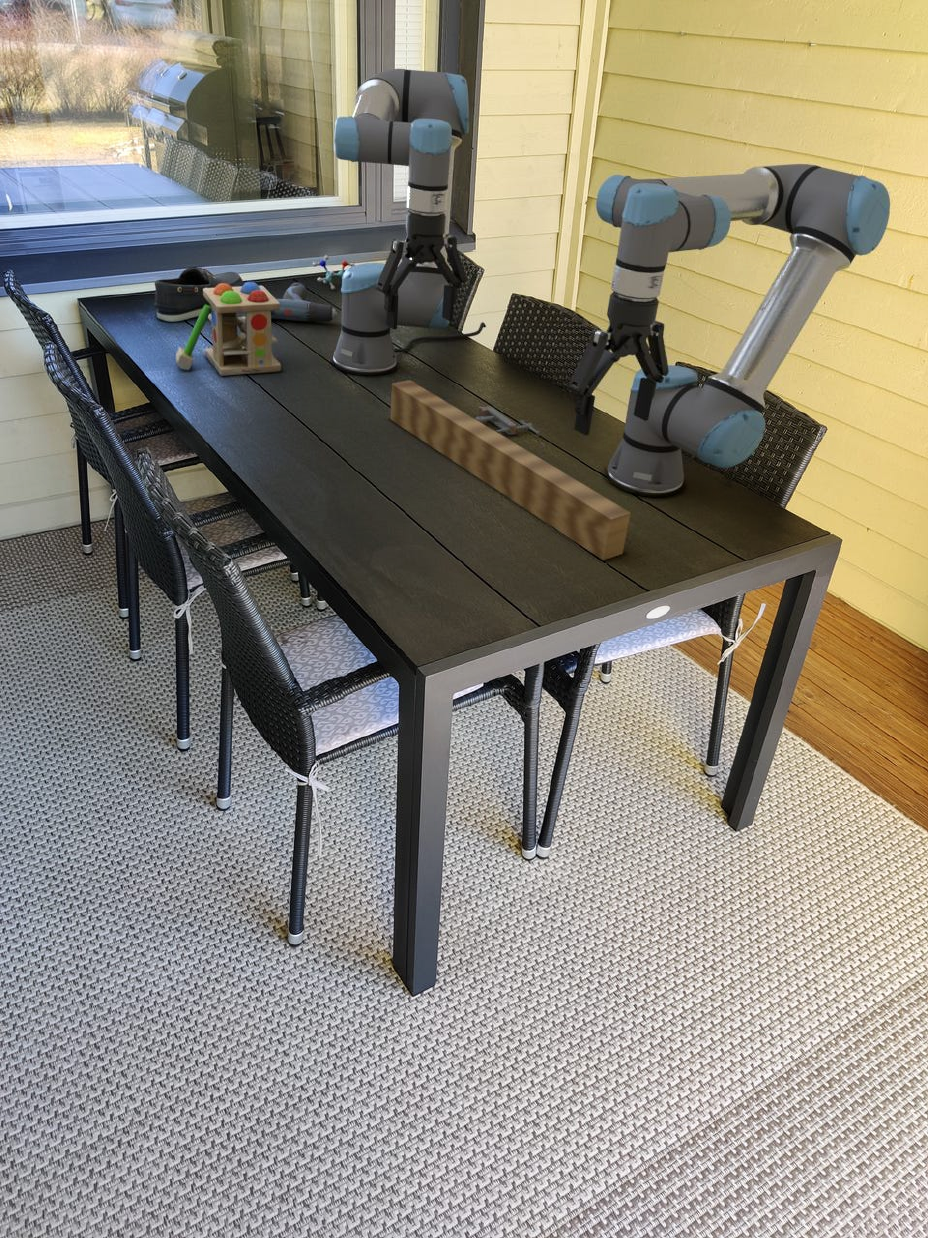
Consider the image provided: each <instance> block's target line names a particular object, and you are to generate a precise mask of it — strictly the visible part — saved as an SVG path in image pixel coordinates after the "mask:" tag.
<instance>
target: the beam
mask: <svg viewBox="0 0 928 1238" xmlns="http://www.w3.org/2000/svg"><path fill="white" fill-rule="evenodd" d="M390 397H391V398H390V421H392V422H393V423H395V424H396V425H398V426H399V427H401V429H404V430H405V431H407V432H408V433H410V434H411V435H413V436H415V437H416V438H417V439H419V440H420V441H421V442H424V443H425V444H427V445H428V446H430V447H431V448H432V449H434V450H436V451H437V452H439V453H440V454H442V455H443V456H445V457H446V458H447V459H449V460H451V461H452V462H454V463H455V464H457V465H458V466H459V467H461V468H463V469H464V470H466V471H467V472H469V473H470V474H472V475H473V476H475V477H477V478H478V479H479V480H481V481H482V482H484V483H486V484H487V485H488V486H490V487H491V488H493V489H494V490H496V491H498V493H501V494H502V495H504V496H505V497H507V498H508V499H510V500H511V501H512V502H514V503H516V504H517V505H518V506H520V507H521V508H523V509H525V510H526V511H528V512H529V513H531V514H532V515H533V516H535V517H537V518H538V519H540V520H541V521H543V522H544V523H546V524H547V525H548V526H551V527H552V528H554V529H555V530H556V531H558V532H559V533H561V534H562V535H563V536H566V537H567V538H569V539H570V540H571V541H573V542H574V543H577V545H579V546H581V547H582V548H584V549H585V550H587V551H588V552H589V553H591V554H593V555H594V556H596V557H597V558H599V559H600V560H602V561H606V560H608V559H612V558H614V557H617V556H621V555H623V553H624V549H625V543H626V538H627V535H628V529H629V525H630V520H631V515H632V514H631V512H630V511H628V510H627V509H625V508H624V507H622V506H621V505H619V504H617V503H615V502H614V501H611V499H609V498H607V497H605V496H603V495H602V494H600V493H598V492H597V491H596V490H594V489H592V488H590V487H588V486H587V485H585V484H584V483H582V482H580V481H578V480H577V479H575V478H574V477H572V476H570V475H568V474H567V473H566V472H563V470H560V469H558V468H557V467H555V465H554V466H553V465H552V464H550V463H548V462H547V461H545V460H543V459H542V458H540V457H539V456H537V455H535V454H534V453H532V452H531V451H529V450H527V449H525V448H524V447H522V446H520V445H518V444H517V443H516V442H514V441H513V440H510V439H509V438H507V437H505V436H504V435H502V434H501V433H500V432H498V433H497V432H496V430H494V429H492V428H490V427H488V426H487V425H485V424H484V423H480V422H479V421H477V420H475V417H472V416H470V415H468V414H467V413H466V412H464V411H462V410H461V409H459V408H458V407H456V406H454V405H452V404H450V403H449V402H447V401H446V400H444V399H442V398H440V397H439V396H437V395H436V394H434V393H432V392H431V391H429V390H427V389H425V388H424V387H422V386H420V385H419V384H417V383H416V382H414V381H412V380H404V381H403V380H402V381H398V382H393V383H391V395H390Z"/></svg>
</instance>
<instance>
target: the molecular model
mask: <svg viewBox="0 0 928 1238" xmlns="http://www.w3.org/2000/svg"><path fill="white" fill-rule="evenodd" d="M329 258H330V257H329V255H324V259H323V260H320V262H316V261H313V262H312V266H313V267H317V266H320V267H322V268H323V269H324V271H325V272H326V273H325V277H322V278H321V277H317V282H318V283H321V282H322V283H323V284H324V285H326V284H327V283H329V286H330V289H331V290H332V291H334V290H335V289H336V286H335V285H333V282H332V280H333V279H332V277H339V278H341V279H343V274H344V272H345V268H346V267H348V266H349V267H352V266H355V263H354V262H351V263H349V262H348V261H346V260H344V261H342V263H341V265H342V267H341V270H340V271H338V273H335V270H333V269H331V270H330V271H329V270H328V268H327V261H328V260H329Z"/></svg>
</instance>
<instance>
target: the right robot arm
mask: <svg viewBox="0 0 928 1238" xmlns="http://www.w3.org/2000/svg"><path fill="white" fill-rule="evenodd" d="M595 207H596V208H595V210H596V211H597V215H598V217H599V219H601V221H603V222H604V223H606V224H609V225H612V226H613V227H614V228H619V229H620V232H619V238H618V239H619V240H618V246H617V252H616V258H615V263H614V268H613V273H612V274H613V275H612V281H611V287H610V289H611V291H612V292H611V293H610V294H609V300H608V305H607V312H606V315H607V318H608V322H609V324H608V327H607V329H606V330H600V329H598V328H594V329H593V330H592V332H591V334H590V339H589V342H588V345H587V346H586V349H585V351H584V353H583V355H582V356H581V359H580V361H579V363H578V365H577V367H576V369H575V371H574V373H573V375H572V377H571V379H570V381H569V384H568V385H567V388H568V390H570V391H572V392H574V393H576V395H577V396H576V400H575V401H576V402H575V408H574V410H575V413H576V415H575V421H574V429H573V430H575V431H576V432H578V433H580V434H582V435H583V436H585V437H586V436H589V435H590V430H591V425H592V418H593V413H594V407H595V401H596V395H594V394H593V393H594V392H595V390H596V389H597V388H598V386H599V384H600V383H601V382H602V380H603V379H604V378H605V376H606V375H607V374H608V372H609V371H610V369H611V368H612V367H613V365H614V364H615V363H617V362H619V361H620V360H621V358H625V357H628V356H635V358H636V361H637V362H638V364H639V366H640V368H639V370H637V371H636V372H635V375H634V377H633V382H632V385H631V388H630V394H629V398H628V399H629V400H628V404H627V411H626V417H625V423H624V429H623V433H622V438H621V441H620V442H619V445H618V446H617V448H616V449H615V452H614V454H613V455H612V457H611V459H610V460H609V463H608V465H607V468H606V469H607V470H606V478H607V480H608V481H609V482H610V483H611V485H613V486H615V487H616V488H617V489H620V490H621V491H624V492H626V493H629V494H632V495H636V496H643V497H649V498H650V497H651V498H662V497H668V496H673V495H675V494H677V493H678V492H680V491H681V490H682V488H683V484H684V480H685V473H684V465H683V456H682V451H683V452H686V453H688V454H690V455H692V456H694V457H695V458H698V459H699V460H700V461H702V462H704V463H706V464H711V465H713V466H715V467H718V468H719V469H729V468H733V467H736V466H737V465H740V464H741V463H742V462H744V461H745V460H747V459H748V458H749V457H750V456H751V455H752V454H753V453H754V452H755V451H756V449H757V448H758V446H759V445H760V443H761V441H762V439H763V437H764V434H765V433H764V431H765V430H766V420H765V417H764V416H763V412H764V410H765V408H766V402H765V399H764V398H765V397H764V393H765V392H766V391H767V389H768V388H769V385H770V384H771V382H772V381H773V379H774V377H775V375H776V374H777V372H778V371H779V368H780V366H781V365H782V364H783V362H784V360H785V359H786V357H787V355H788V354H789V352H790V350H791V349H792V347H793V345H794V343H795V342H796V340H797V338H798V336H799V335H800V333H801V331H802V330H803V328H804V327H805V325H806V323H807V322H808V320H809V318H810V316H811V315H812V314H813V311H814V310H815V308H816V306H817V305H818V303H819V301H820V300H821V297H822V296H823V294H824V293H825V291H826V290H827V287H828V286H829V284H830V283H831V281H832V279H833V278H834V277H835V274H836V273H838V272H841V271H843V270H846V269H849V268H850V267H851V264H852V263H853V261H854V259H855V258H856V256H860V257H861V256H866V255H869V254H871V253H872V252H874V250H876V249H877V247H878V246H879V244H880V243H881V241H882V240H883V237H884V235H885V233H886V230H887V227H888V224H889V220H890V215H891V214H890V213H891V211H890V210H891V198H890V194H889V190H888V189H887V187H886V186H885V185H884V183H883V182H880V181H878V180H874V179H872V178H868V177H867V176H866V175H857V174H853V173H848V172H843V171H841V170H836V169H832V168H828V167H822V166H821V165H820V166H819V165H816V164H809V163H793V164H792V163H791V164H776V165H766V166H764V165H763V166H754V167H751V168H749V169H747V170H745V171H744V172H743V173H736V174H735V173H734V174H716V175H715V174H714V175H698V176H697V175H696V176H678V177H661V178H660V177H659V178H643V179H642V178H633V177H632V176H631V175H622V174H614V175H611V176H609V177H608V178H607V179H605V180H604V181H603V183H602V184H601V186H600V188H599V189H598V192H597V194H596V202H595ZM737 221H739V222H740V221H741V222H742V223H744V224H746V225H748V226H759V225H760V226H765V227H768V228H769V227H770V228H773V229H775V230H780V231H782V232H785V233H789V234H790V235H789V238H788V239H789V244H790V247H791V250H790V253H789V254H788V256H787V257H786V260H785V261H784V263H783V265H782V267H781V268H780V270H779V272H778V274H777V275H776V277H775V279H774V280H773V282H772V284H771V286H770V287H769V289H768V290H767V292H766V294H765V296H764V297H763V299H762V301H761V303H760V305H759V306H758V307H757V310H756V311H755V313H754V315H753V316H752V318H751V320H750V322H748V323H749V324H748V325H747V327H746V329H745V330H744V332H743V334H742V336H741V337H740V339H739V341H738V342H737V344H736V346H735V348H734V349H733V351H732V353H731V354H730V356H729V358H728V360H727V361H726V363H725V365H724V367H723V368H722V370H721V371H720V372H719V373H716V374H713V375H709V376H708V378H707V379H706V381H705V383H704V384H703V386H702V387H701V386H700V385H697V382H698V380H699V379H698V373H697V372H696V370H694V369H691V368H689V367H685V366H681V365H672V364H668V358H667V351H666V346H665V345H666V344H665V338H664V334H665V323H663V322H661V321H659V320H656V319H657V314H658V308H659V304H660V300H659V299H658V297H659V296H660V295H661V291H662V285H663V280H664V274H665V270H666V268H667V263H668V257H669V253H675V252H677V253H678V252H685V251H694V250H696V251H697V250H698V251H702V250H705V249H707V248H711V247H715V246H717V245H719V244H721V243H722V242H723V241H724V240H725V239H726V237H727V235H728V233H729V230H730V228H731V223H732V222H737Z"/></svg>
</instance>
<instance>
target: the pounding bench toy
mask: <svg viewBox="0 0 928 1238" xmlns="http://www.w3.org/2000/svg"><path fill="white" fill-rule="evenodd" d="M203 296H204V297H205V299H206V300H207V301H208V302H209V304H210V305H211V307H210V306H208V305H204V307H203V309H202V311H201V314H200V316H198V318H197V320H196V322H195V324H194V327H193V329H192V331H191V332H190V333H191V334H190V336H189V338H188V340H187V343H186V344H185V347H184V348H182V347H180V346H179V347H178V349H177V351H176V354H175V357H174V358H175V362H176V365H177V366H178V368H179V369H182V370H185V371H189V370H190V369H191V367H192V365H193V363H194V356H193V351H194V348H195V347H196V345H197V342H198V340H199V337H200V336H201V333H202V332H203V329H204V326H205V325H206V322H207V320H209V321H210V322H211V336H212V337H211V338H212V339H211V340H212V348H205V349H204V352H205V353H204V355H205V357H206V359H208V361H209V363H210V364H211V365H212V366H213V367H214V369H215V370H216V371H217V372H218V374H219V375H220V376H222V377H223V376H234V375H235V376H236V375H246V374H247V375H250V374H262V373H275V372H281V370H282V364H281V363H280V362H279V360H278V359H277V358H276V357H275V356H274V355H273V348H272V347H273V345H272V344H276V343H278V342H279V341H278V339H277V338H276V337H275V336H274V334H272V318H271V310H280V303H279V302H278V301H277V300H276V299H277V298H276V297H274V296H273V295H272V294H271V293H270V292H269V290H268V289H267V288H266V287H264V285H259V284H257V283H256V282H255V281H247V282H245V283H243V286H242V287H231V286H230V285H228V284H226V283H221V284H218V285H217V286H216V287H215V288H204V289H203ZM238 313H244V314H245V315H244V316H238ZM238 329H239V331H240V333H239V334H238Z"/></svg>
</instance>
